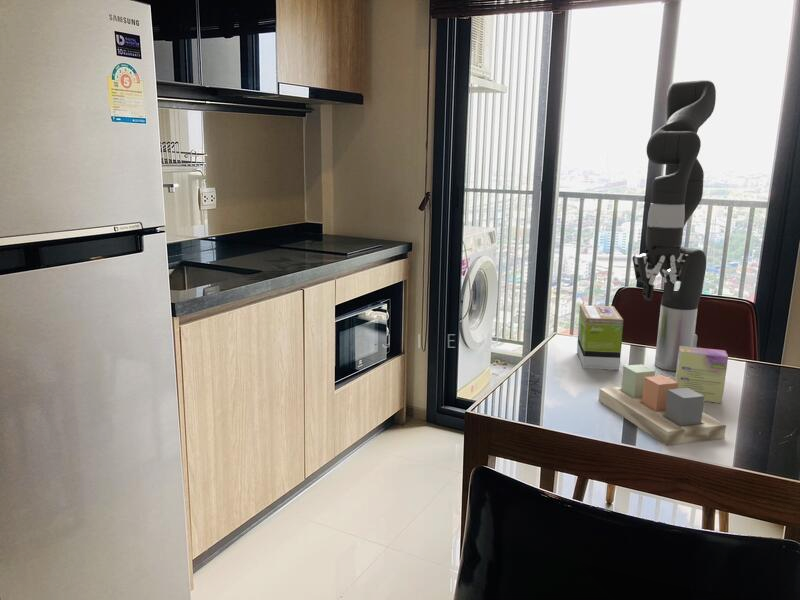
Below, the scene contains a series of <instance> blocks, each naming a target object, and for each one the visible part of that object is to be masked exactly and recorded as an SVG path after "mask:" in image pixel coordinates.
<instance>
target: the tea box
mask: <svg viewBox="0 0 800 600" xmlns="http://www.w3.org/2000/svg"><path fill="white" fill-rule="evenodd" d="M578 311H579V313H578V315H579V316H578V329H577V330H578V333H577V346H576V347H577V348H576V352H577V356H578V357H579V361H580V363H581V366H582V368H583V369H584V368H589V369H588V370H601V369H608V370H607V371H619V370H620V368H621V357H622V356H621V354H622V344H623V343H622V340H623V331H624V330H623V329H624V319H623V317H622V316H621V315H620V313H619V312H618V310H617V309H616V308H615V306H614V305H611V306H610V305H583V304H582V305H581V304H580V305H579V310H578Z"/></svg>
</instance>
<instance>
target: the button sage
mask: <svg viewBox="0 0 800 600" xmlns="http://www.w3.org/2000/svg"><path fill="white" fill-rule="evenodd" d="M622 367H623V368H622V376H621V386H620V387H621V391H622V392H623V393H625V394H627V395H628V396H630V397H631V398H633V399H634V398H642V396H643V387H644V377H651V376H656V370H654V369H652V368H650V367H648V366H646V365H644V364H641V363H640V364H630V365H623V366H622Z"/></svg>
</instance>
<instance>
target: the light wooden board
mask: <svg viewBox="0 0 800 600" xmlns="http://www.w3.org/2000/svg"><path fill="white" fill-rule="evenodd" d="M598 401H599V402H600V403H602V404H603V405H605V406H607V407H608V408H609V409H611V410H613V412H616V413H617V414H618V415H619V416H621V417H623V418H624V419H625V420H628V421H629V422H631V423H632V424H633V425H635V426H636V427H638V428H640V429H641V430H642V431H644V432H646V433H647V434H649V435H650V436H651V437H653V438H654V439H656V440H657V441H659V442H661V443H662V444H664V445H665V446H674V445H683V444H689V443H690V444H691V443H698V442H707V441H714V440H716V441H717V440H721V439H723V440H724V439H725V435H726V428H727V425H726V424H725V423H723V422H722V421H720V420H718V419H716V418H714V417H712V416H711V415H709V414H706V413H705V412H703V411H702V419H701V424H700V425H692V426H683V427H680V426H678V425H676V424H675V423H673V422H671V421H670V420H668V419H666V418H665V411H660V412H655V411H653V410H651V409H650V408H648V407H646V406H645V405H643V404H642V398H634V399H633V398H631V397H630V396H628V395H627V394H625V393H623V392H622V391H621V386H612V387H611V386H610V387H602V388H599V393H598Z"/></svg>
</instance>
